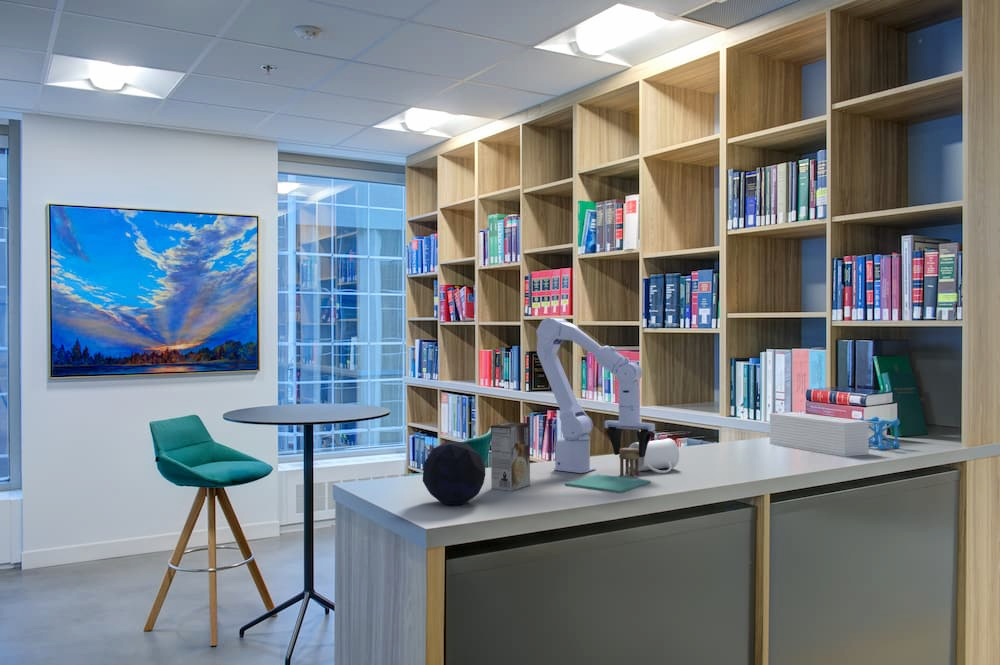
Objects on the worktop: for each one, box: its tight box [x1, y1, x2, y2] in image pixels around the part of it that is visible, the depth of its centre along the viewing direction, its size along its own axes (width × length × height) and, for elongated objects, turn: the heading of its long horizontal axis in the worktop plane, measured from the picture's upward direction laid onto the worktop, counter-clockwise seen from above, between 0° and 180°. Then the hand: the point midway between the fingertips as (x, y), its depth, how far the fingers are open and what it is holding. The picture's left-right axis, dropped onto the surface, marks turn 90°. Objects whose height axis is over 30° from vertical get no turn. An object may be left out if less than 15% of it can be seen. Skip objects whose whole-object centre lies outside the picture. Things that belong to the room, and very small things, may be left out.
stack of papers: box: [769, 411, 870, 457], centre depth 264 cm, size 32×11×11 cm, turn 25°
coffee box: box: [490, 421, 531, 492], centre depth 201 cm, size 9×6×16 cm
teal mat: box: [564, 473, 651, 494], centre depth 204 cm, size 16×16×1 cm
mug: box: [628, 437, 680, 474], centre depth 224 cm, size 12×8×12 cm
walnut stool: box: [618, 447, 640, 477], centre depth 217 cm, size 5×5×7 cm
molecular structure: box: [856, 415, 901, 451], centre depth 265 cm, size 10×10×10 cm
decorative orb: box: [422, 441, 486, 506], centre depth 182 cm, size 14×15×15 cm
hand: (629, 455), depth 217 cm, fingers open, 7 cm apart
